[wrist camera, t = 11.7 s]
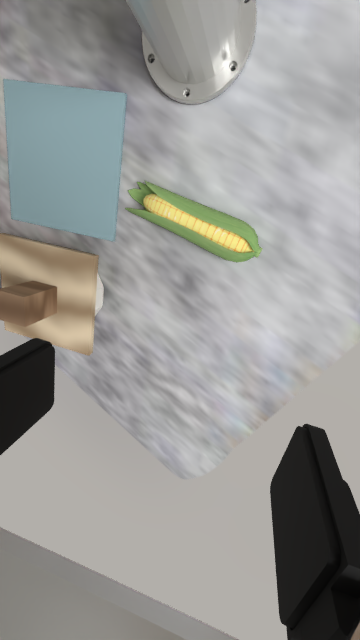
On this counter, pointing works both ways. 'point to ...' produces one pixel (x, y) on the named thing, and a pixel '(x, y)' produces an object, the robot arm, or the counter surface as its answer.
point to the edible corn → (197, 223)
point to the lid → (48, 292)
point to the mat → (64, 156)
